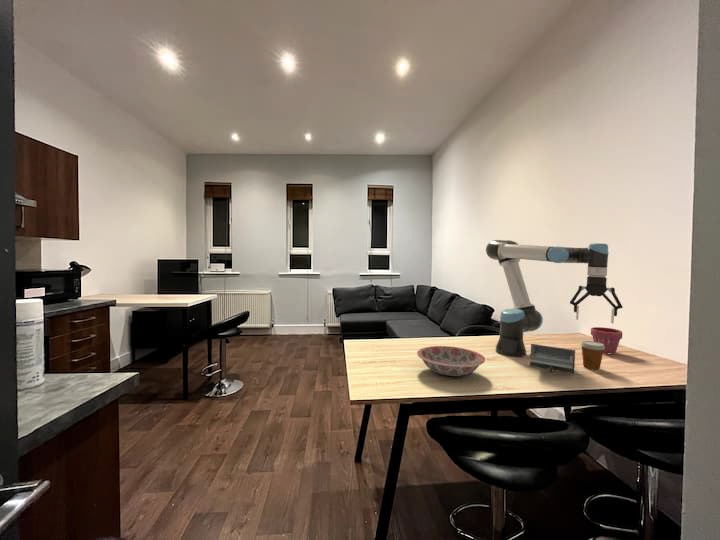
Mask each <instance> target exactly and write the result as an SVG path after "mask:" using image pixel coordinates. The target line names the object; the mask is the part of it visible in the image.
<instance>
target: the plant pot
mask: <svg viewBox="0 0 720 540" xmlns="http://www.w3.org/2000/svg"><path fill="white" fill-rule="evenodd" d="M590 335H591V336H592V339H593V342H598V343H602V344H604V347H605V349H604V351H603V353H615V354H617V353H616V352H617V351H618V350H617V349H618V347H619V344H620V340H622V339H623V331H622V330H619V329H616V328H611V327H610V328H609V327H600V326H599V327H597V326H595V327H594V326H593V327H590Z"/></svg>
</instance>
